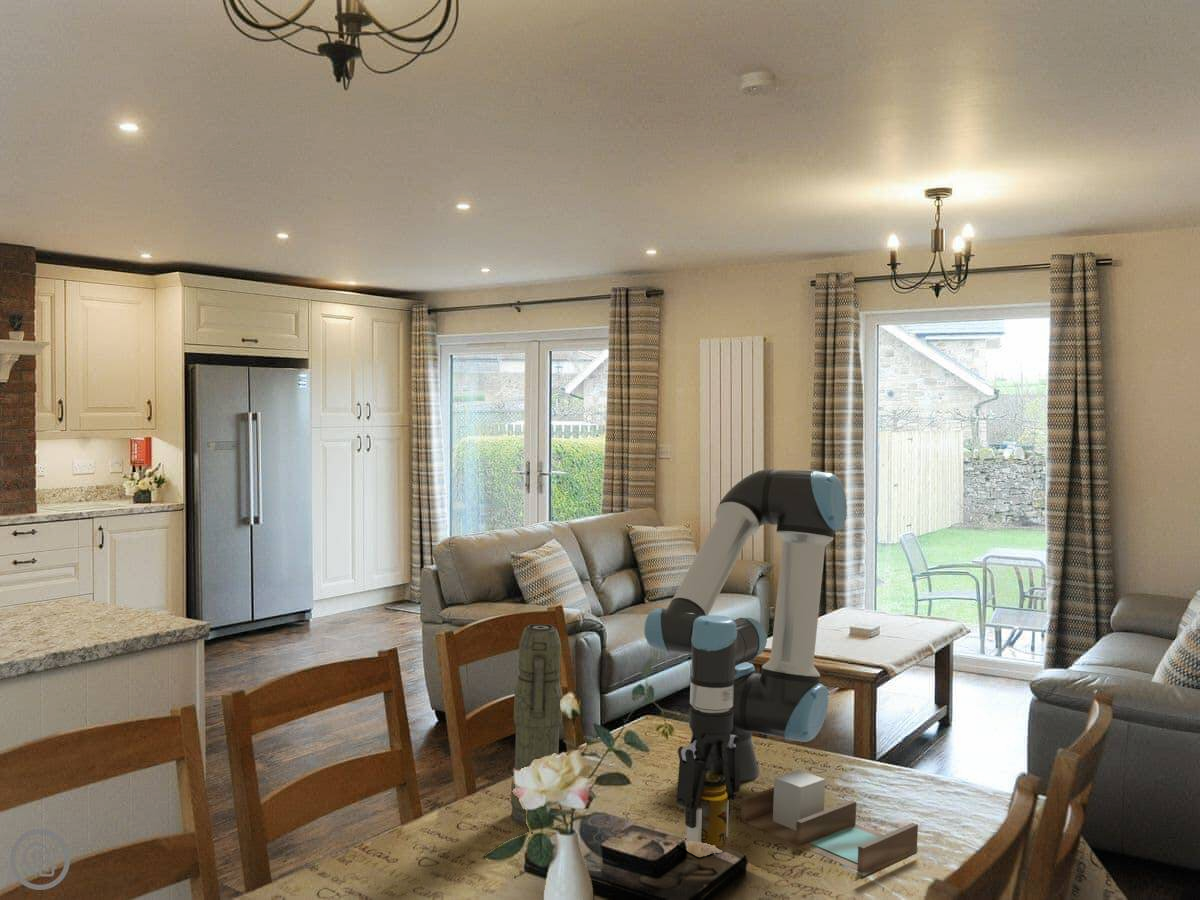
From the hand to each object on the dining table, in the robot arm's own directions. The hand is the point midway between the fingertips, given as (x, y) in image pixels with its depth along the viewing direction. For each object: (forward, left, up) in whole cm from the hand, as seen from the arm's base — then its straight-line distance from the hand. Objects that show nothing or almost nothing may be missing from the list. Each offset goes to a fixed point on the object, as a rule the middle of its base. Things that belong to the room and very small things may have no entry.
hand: (707, 839), depth 167 cm
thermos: (-27, -17, -1) cm, 32 cm away
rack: (+11, +19, -1) cm, 22 cm away
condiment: (0, -1, -1) cm, 1 cm away
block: (+5, +19, 0) cm, 20 cm away
